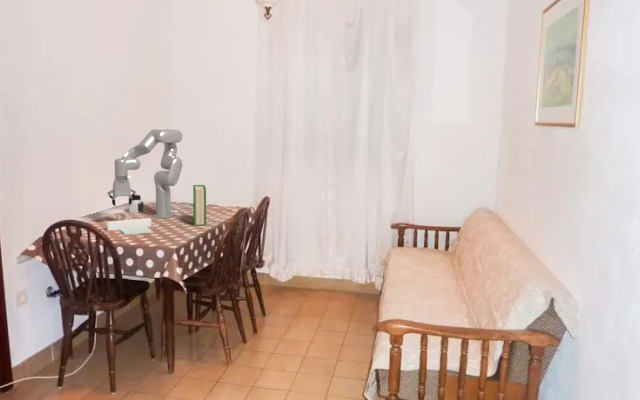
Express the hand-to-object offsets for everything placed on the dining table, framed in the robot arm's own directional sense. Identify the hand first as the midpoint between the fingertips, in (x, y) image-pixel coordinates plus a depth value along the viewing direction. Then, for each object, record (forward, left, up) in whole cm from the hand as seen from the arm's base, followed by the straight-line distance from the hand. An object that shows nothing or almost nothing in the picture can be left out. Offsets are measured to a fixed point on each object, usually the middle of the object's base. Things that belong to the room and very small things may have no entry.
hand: (122, 205), depth 342 cm
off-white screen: (-1, +14, -12) cm, 19 cm away
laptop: (-60, -43, -13) cm, 75 cm away
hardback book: (-45, +17, -12) cm, 50 cm away
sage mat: (-2, +25, -12) cm, 28 cm away
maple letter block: (0, 0, -12) cm, 12 cm away
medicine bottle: (-18, -38, -12) cm, 44 cm away
